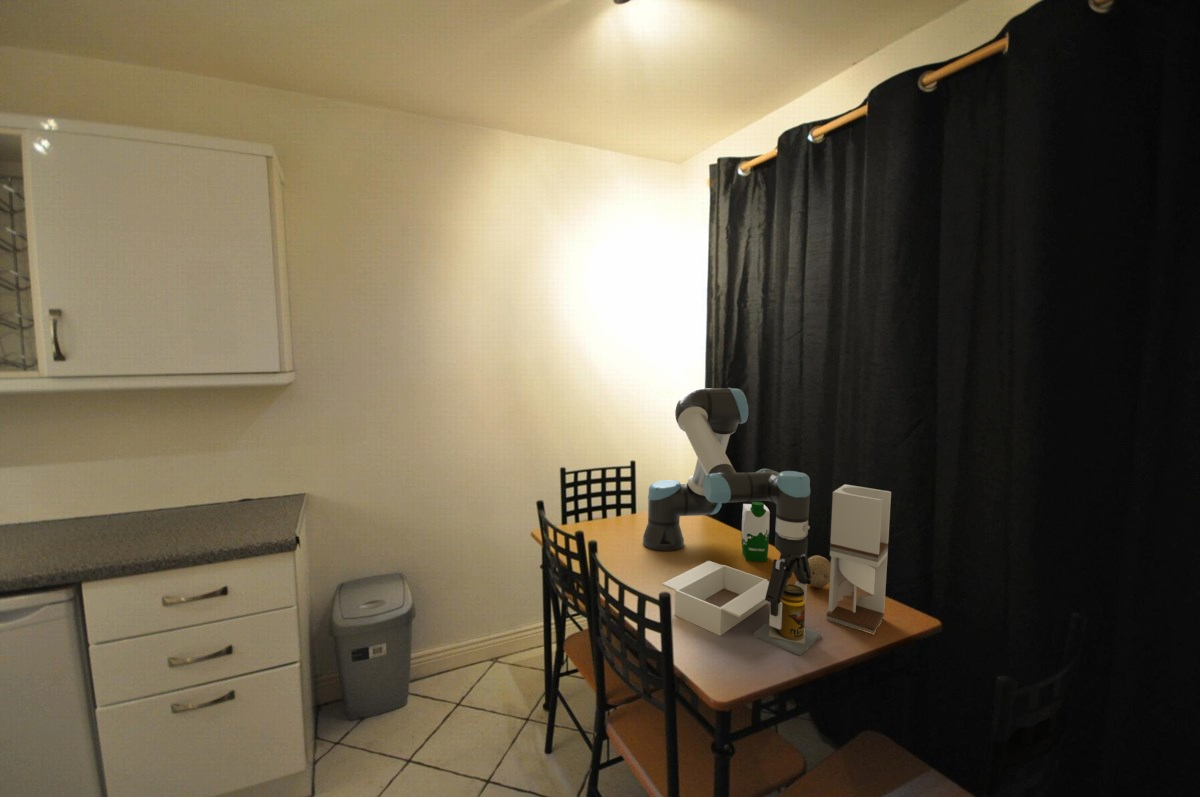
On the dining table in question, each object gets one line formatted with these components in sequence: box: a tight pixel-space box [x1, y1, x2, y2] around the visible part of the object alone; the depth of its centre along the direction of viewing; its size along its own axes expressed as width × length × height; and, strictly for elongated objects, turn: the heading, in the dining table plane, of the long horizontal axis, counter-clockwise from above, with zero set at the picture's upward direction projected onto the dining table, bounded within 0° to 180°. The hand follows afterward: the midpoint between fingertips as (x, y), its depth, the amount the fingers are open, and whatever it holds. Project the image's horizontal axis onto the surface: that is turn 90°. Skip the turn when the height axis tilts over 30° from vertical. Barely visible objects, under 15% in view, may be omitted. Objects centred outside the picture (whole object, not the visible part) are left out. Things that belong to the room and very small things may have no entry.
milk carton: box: [741, 501, 771, 563], centre depth 179 cm, size 9×9×20 cm
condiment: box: [769, 583, 806, 644], centre depth 129 cm, size 7×8×12 cm
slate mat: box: [753, 621, 822, 656], centre depth 130 cm, size 12×12×1 cm
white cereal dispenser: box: [826, 483, 892, 633], centre depth 136 cm, size 11×11×35 cm
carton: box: [661, 560, 770, 637], centre depth 143 cm, size 24×24×7 cm
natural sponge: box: [805, 555, 831, 589], centre depth 156 cm, size 9×9×10 cm
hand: (788, 617), depth 129 cm, fingers open, 13 cm apart
